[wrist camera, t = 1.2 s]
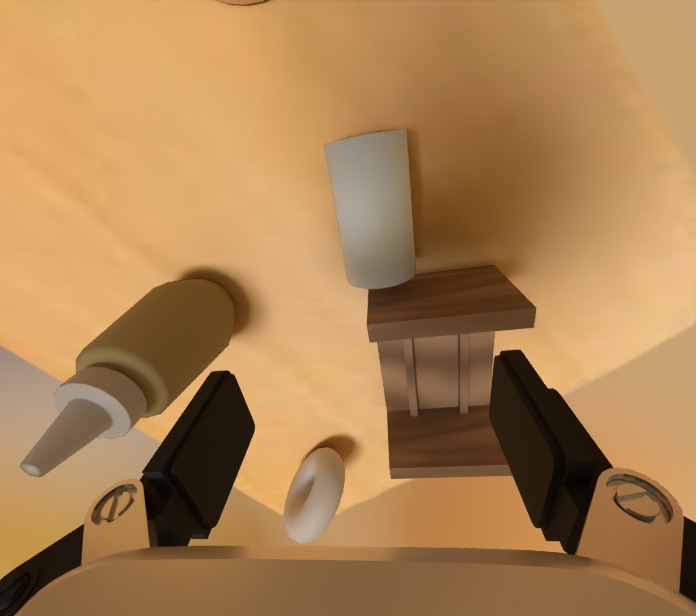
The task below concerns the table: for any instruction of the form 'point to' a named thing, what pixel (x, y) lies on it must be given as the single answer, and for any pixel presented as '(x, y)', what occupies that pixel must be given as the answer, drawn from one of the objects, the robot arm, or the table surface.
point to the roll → (373, 207)
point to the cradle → (443, 368)
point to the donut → (314, 495)
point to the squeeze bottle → (136, 367)
